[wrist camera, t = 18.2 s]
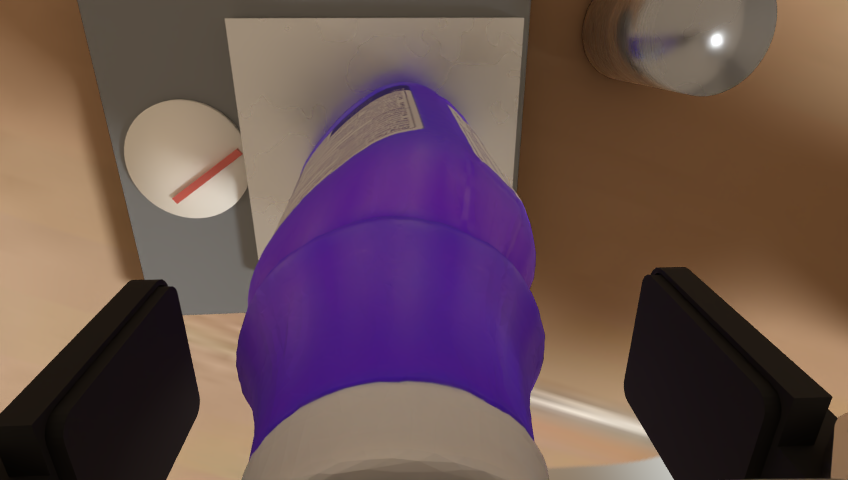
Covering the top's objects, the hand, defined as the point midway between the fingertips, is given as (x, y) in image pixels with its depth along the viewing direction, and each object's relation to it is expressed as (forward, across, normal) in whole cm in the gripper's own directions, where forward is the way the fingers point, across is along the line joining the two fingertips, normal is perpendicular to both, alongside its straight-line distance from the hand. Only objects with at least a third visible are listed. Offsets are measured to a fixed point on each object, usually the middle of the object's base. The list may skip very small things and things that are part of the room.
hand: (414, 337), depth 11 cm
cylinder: (+16, -10, -5) cm, 19 cm away
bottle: (+12, +1, 0) cm, 13 cm away
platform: (+13, +1, 0) cm, 13 cm away
